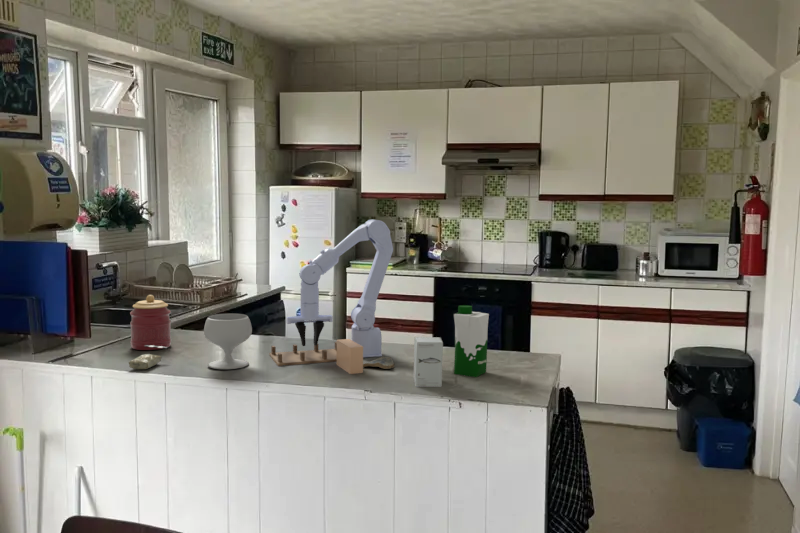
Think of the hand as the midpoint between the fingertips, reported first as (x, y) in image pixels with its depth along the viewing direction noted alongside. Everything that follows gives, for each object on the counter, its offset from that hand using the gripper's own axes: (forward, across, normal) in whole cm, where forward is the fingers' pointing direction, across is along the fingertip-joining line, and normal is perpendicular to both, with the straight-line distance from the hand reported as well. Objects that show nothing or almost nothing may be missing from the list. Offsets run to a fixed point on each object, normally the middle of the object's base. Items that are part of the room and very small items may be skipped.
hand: (309, 345), depth 220 cm
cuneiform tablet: (+2, +45, -10) cm, 47 cm away
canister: (+4, +47, -32) cm, 57 cm away
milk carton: (+4, -40, +34) cm, 53 cm away
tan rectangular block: (+4, -8, +18) cm, 20 cm away
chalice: (+4, +26, +3) cm, 26 cm away
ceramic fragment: (+4, -22, +22) cm, 31 cm away
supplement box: (+4, -24, +40) cm, 47 cm away
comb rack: (+4, 0, 0) cm, 4 cm away
